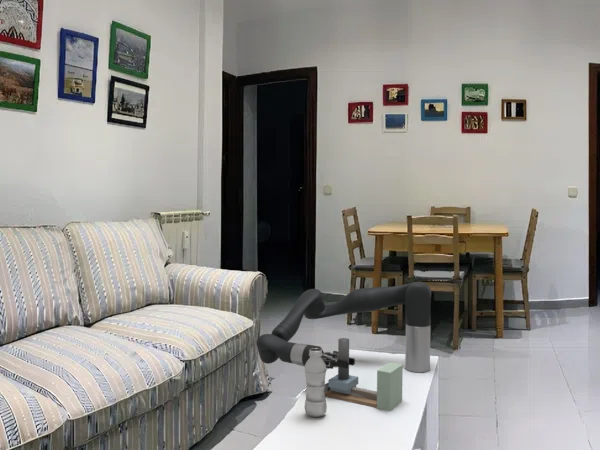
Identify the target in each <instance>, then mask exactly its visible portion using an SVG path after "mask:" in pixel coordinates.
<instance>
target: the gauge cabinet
mask: <svg viewBox="0 0 600 450" xmlns="http://www.w3.org/2000/svg"><path fill="white" fill-rule="evenodd" d="M403 368H404V366H403V364H401V363H396V362H391V361H390V362H388V363H386V364H385V365H383V366H382V367H380V368H379V369H378V370H377V371H376V391H377V408H376V409H378V410H383V411H386V412H391V411H392V410H393V409H394V408H396V407H397V406H399V405H400V404H401V403H402V402H403V379H404V378H403V377H404V376H403V373H404V372H403V371H404V370H403Z"/></svg>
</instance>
